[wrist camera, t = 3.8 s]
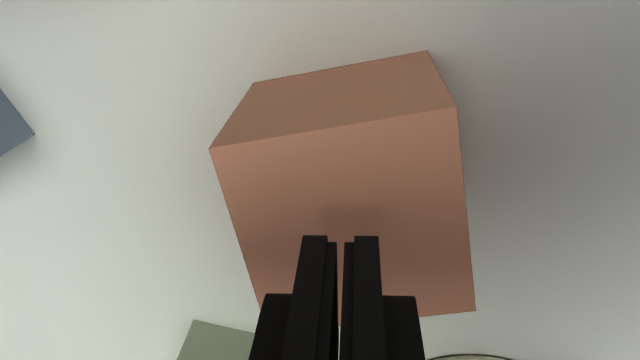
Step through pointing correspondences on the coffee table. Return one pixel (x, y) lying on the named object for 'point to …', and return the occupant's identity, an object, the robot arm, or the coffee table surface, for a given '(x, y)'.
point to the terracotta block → (352, 177)
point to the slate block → (11, 126)
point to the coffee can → (469, 357)
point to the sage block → (215, 343)
